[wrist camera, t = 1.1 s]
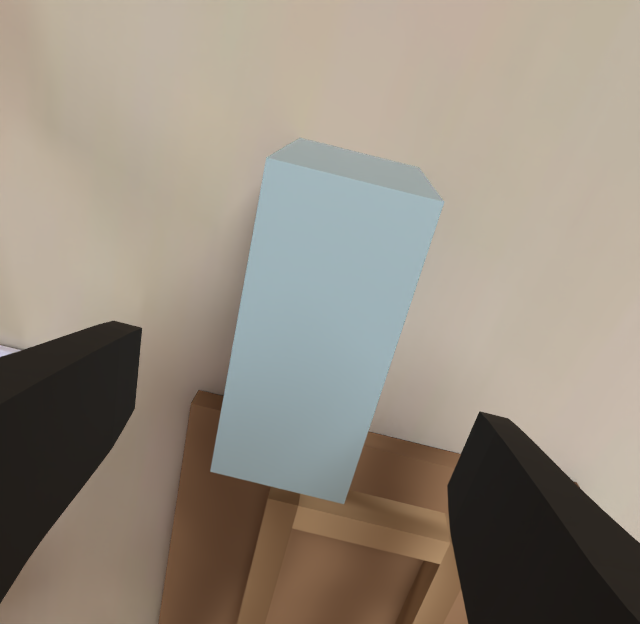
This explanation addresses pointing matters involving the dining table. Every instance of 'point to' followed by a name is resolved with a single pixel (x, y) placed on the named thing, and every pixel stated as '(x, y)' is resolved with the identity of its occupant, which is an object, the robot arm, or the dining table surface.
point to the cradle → (312, 541)
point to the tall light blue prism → (321, 314)
